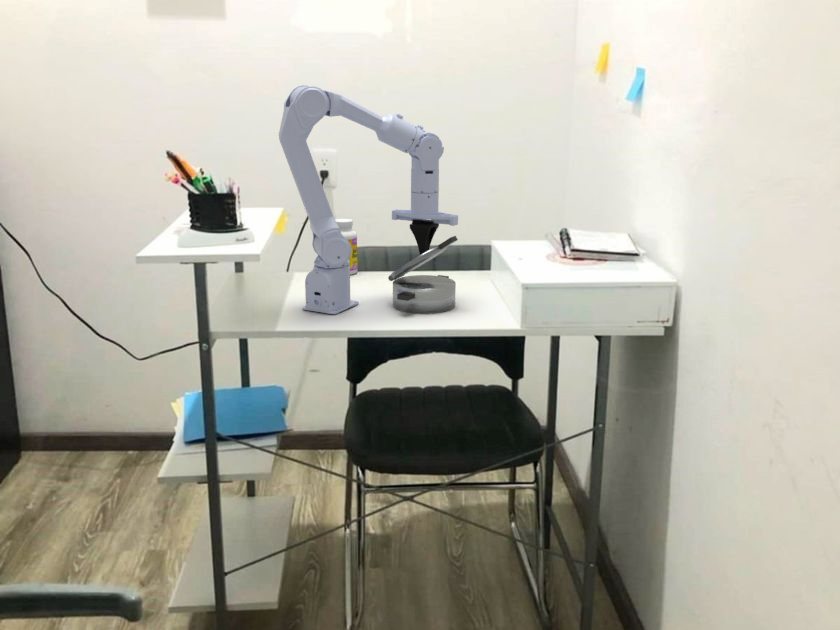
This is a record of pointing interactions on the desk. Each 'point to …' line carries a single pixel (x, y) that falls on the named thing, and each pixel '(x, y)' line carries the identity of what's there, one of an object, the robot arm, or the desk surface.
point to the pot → (424, 294)
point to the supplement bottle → (351, 236)
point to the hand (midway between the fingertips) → (424, 256)
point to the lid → (421, 259)
